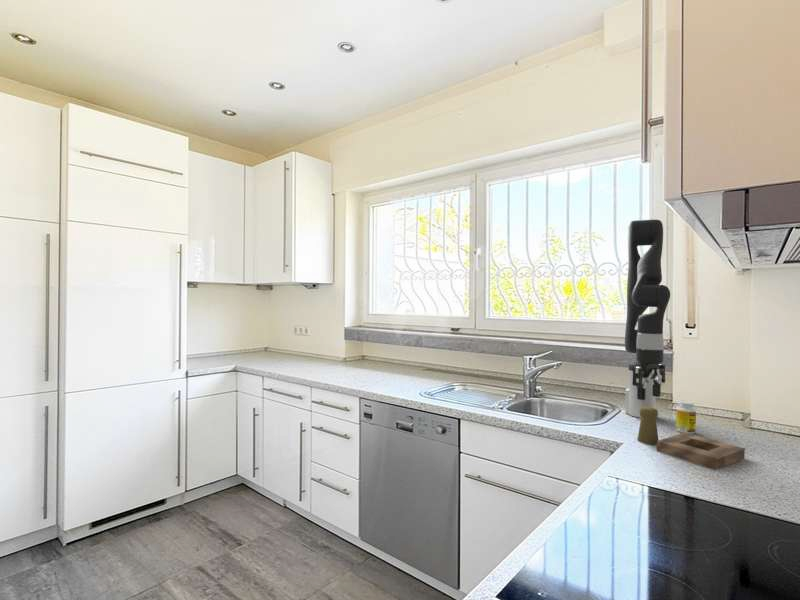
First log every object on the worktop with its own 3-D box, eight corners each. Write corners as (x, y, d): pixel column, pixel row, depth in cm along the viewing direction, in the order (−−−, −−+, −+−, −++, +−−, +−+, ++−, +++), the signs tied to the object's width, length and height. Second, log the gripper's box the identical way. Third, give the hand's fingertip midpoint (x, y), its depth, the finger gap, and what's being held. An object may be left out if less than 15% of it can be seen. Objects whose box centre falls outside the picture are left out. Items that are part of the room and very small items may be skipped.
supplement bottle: (690, 435, 144) (691, 405, 143) (672, 430, 148) (673, 401, 148) (698, 432, 146) (699, 402, 146) (681, 428, 151) (681, 399, 151)
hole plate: (656, 450, 129) (656, 440, 129) (684, 441, 138) (684, 432, 138) (717, 470, 116) (717, 459, 116) (744, 458, 124) (744, 448, 124)
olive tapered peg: (639, 436, 142) (639, 403, 142) (660, 441, 138) (661, 407, 138) (635, 441, 137) (636, 407, 137) (657, 446, 133) (658, 411, 133)
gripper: (650, 345, 144) (649, 393, 144) (625, 347, 137) (624, 398, 137) (674, 347, 137) (673, 398, 138) (648, 349, 130) (648, 403, 130)
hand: (648, 398), depth 137 cm, fingers open, 8 cm apart
